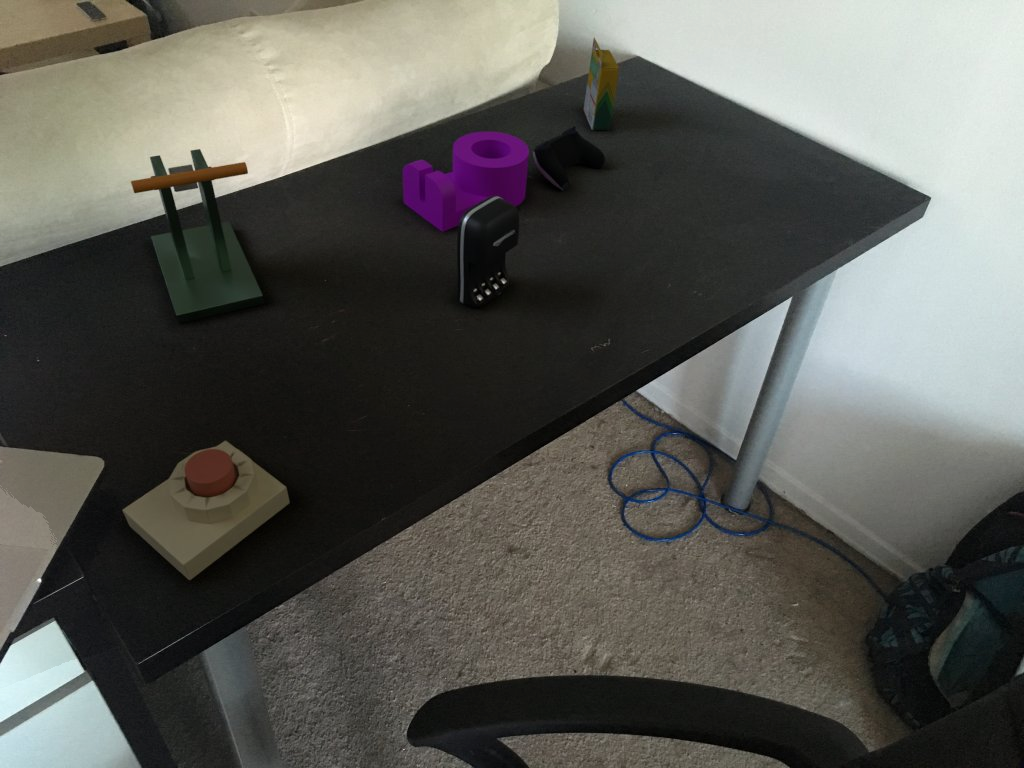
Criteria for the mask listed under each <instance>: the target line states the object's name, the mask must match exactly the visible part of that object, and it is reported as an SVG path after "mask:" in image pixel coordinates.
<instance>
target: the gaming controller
mask: <svg viewBox="0 0 1024 768" xmlns="http://www.w3.org/2000/svg"><path fill="white" fill-rule="evenodd" d="M532 157H533V160H534V164H535V166H536V167H537V169H538V171H539V172H540V173H541V174H542V175H543V177H544V178H545V179H547V181H549V182H550V183H551V184H552V185H553V186H555V187H557V188H558V189H559V190H561V191H564V190H567V189H568V188H569V187H570V180H569V177H568V174H567V172H566V169H567V168H569V167H570V166H573V165H575V164H576V163H577V162H580V163H583V164H585V165H587V166H590V167H592V168H595V169H601V168H602V167H603V166H604V165H605V163H606V157H605V154H604V153H603V151H602V150H601V149H600V148H599V147H598V146H596V145H595V144H593V143H591V142H590V141H588V140H587V139H586V138H584V137H583V136H582V135H581V134H580V133H579V132H578V130H577V129H576V125H574V126H572V127H570V128H567V129H566V130H564V131H562V133H561V134H560V135H557V136H555V137H553V138H551V139H549V140H546V141H544V142H542V143H540V144H538V145H537V146H535V147H534V149H533V152H532Z"/></svg>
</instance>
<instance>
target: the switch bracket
mask: <svg viewBox="0 0 1024 768" xmlns="http://www.w3.org/2000/svg"><path fill="white" fill-rule="evenodd" d="M189 151H190V152H189V153H190V156H191V160H192V165H193V169H194V170H200V169H206V168H212V166H208V165H209V164H208V163H207V160H206V159H205V156H204V153H202V151H201V148H198V149H191V150H189ZM149 159H150V163H151V167H152V171H153V174H154V175H151V176H150V178H152V177H158V176H164V175H168V172H167V170H166V167H165V164H164V162H163V159H162V157H161V155H153V156H149ZM197 185H198V190H199V193H200V197H201V202H202V206H203V210H204V215H205V219H206V223H207V225H201V226H196V227H192V228H187V229H182V224H181V220H180V217H179V214H178V209H177V206H176V201H175V198H174V195H173V190H172V187H169V188H163V189H157V190H156V191H158V192H159V196H160V199H161V203H162V207H163V210H164V213H165V219H166V222H167V224H168V228H169V232H166V233H161V234H156V235H151V236H150V239H151V242H152V245H153V249H154V252H155V255H156V258H157V260H158V264H159V267H160V270H161V274H162V276H163V278H164V282H165V286H166V288H167V291H168V295H169V298H170V301H171V304H172V307H173V309H174V313H175V316H176V320H177V323H178V324H179V325H181V324H185V323H189V322H193V321H197V320H202V319H205V318H206V319H207V318H210V317H215V316H218V315H219V316H220V315H224V314H227V313H231V312H236V311H240V310H244V309H248V308H253V307H257V306H261V305H264V304H265V300H264V295H263V292H262V291H261V288H260V286H259V283H258V281H257V279H256V277H255V275H254V272H253V271H252V268H251V266H250V264H249V261H248V259H247V258H246V255H245V253H244V251H243V249H242V246H241V244H240V242H239V240H238V238H237V235H236V233H235V231H234V229H233V227H232V225H231V222H230V221H227V220H226V221H222V220H221V215H220V212H219V207H218V203H217V197H216V194H215V190H214V185H213V180H209V181H203V182H197Z"/></svg>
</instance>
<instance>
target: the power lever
mask: <svg viewBox="0 0 1024 768" xmlns="http://www.w3.org/2000/svg"><path fill="white" fill-rule="evenodd" d="M211 167H212V166H211ZM167 170H168V174H167V175H164V176H158V177H152V178H151V177H147V178H140V179H135V180H130V184H131V187H132V191H133V193H134V194H139V193H145V192H151V191H158V190H157V189H163V188H169V187H171V188H173V191H174V192H175V193H180V192H184V191H190V190H196V189H199V185H198V182H203V181H209V180H212V181H216V180H220V179H225V178H231V177H237V176H243V175H248V174H249V171H248V167H247V163H246V162H245V161H242V162H236V163H231V164H225V165H218V166H213V167H212V168H206V169H200V170H195V169H194V166H193V164H185V165H179V166H174V167H169V168H168V169H167Z"/></svg>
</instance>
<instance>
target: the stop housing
mask: <svg viewBox="0 0 1024 768" xmlns="http://www.w3.org/2000/svg"><path fill="white" fill-rule="evenodd" d="M208 449H218V450H222V451H224V452H226V453H227V454H229V456H230V457H231V459H232V463H233V466H234V470H235V473H236V479H235V482H234V484H233V485H232V487H231V488H230V489H229V490H227V491H226V492H224V493H222V494H220V495H217V496H213V497H202V496H199V495H197V494H195V493H194V492H193V491H192V490H191V489H190V486H189V483H188V480H187V477H186V475H185V466H186V463H187V462H188V460H189V459H190V458H191V457H192V456H194V455H195V454H197V453H199V452H201V451H204V450H208ZM290 502H291V501H290V497H289V493H288V488H287V486H286V485H284V484H283V483H282V482H281V481H279V480H278V479H277V478H275V477H274V476H273V475H271V473H269V472H267V470H265V469H264V468H262V467H261V466H260V465H259V464H258V463H256V462H255V461H253V460H252V459H251V458H250V457H249V456H248V455H246V454H245V453H244V452H243V451H242V450H240V449H238V448H236V447H235V446H234V445H232V444H231V443H230V442H229V441H227V440H224V441H222V442H221V443H220V444H218V445H216V446H213V447H208V448H204V449H200V450H196V451H194V452H192V453H191V454H189V455H188V456H187V457H185V458H184V459H182V460H181V461H179V462H178V463H177V464H176V466H175V468H174V469H173V471H172V473H171V474H170V476H169V478H168V479H166V480H164V481H163V482H162V483H160V484H159V485H157V486H156V487H154V488H153V489H151V490H150V491H148V492H147V493H145V494H144V495H143V496H141V497H139V498H138V499H136V500H135V501H133V502H132V503H130V504H129V505H127V506H126V507H125V508H123V509H122V513H123V515H124V518H125V519H126V521H127V524H128V526H129V527H130V528H131V529H132V530H133V531H134V532H135V533H136V534H137V535H138V536H140V537H141V538H142V539H143V540H144V541H145V542H146V543H147V544H148V545H150V546H151V547H152V548H153V549H154V550H155V551H156V552H157V553H158V554H160V556H161V557H163V558H164V559H165V560H166V561H167V562H168V563H169V564H171V565H172V567H174V568H175V569H176V570H177V571H178V572H179V573H181V575H183V576H184V577H185V578H186V579H187V580H188V581H191V580H192V579H194V578H195V577H197V576H198V575H199V574H200V573H201V572H203V571H204V570H205V569H207V568H208V567H209V566H211V565H212V564H213V563H214V562H216V561H217V560H219V559H220V558H221V557H222V556H224V555H225V554H226V553H227V552H228V551H230V550H232V549H233V548H234V547H235V546H237V545H238V544H239V543H240V542H242V541H243V540H244V539H245V538H246V537H248V536H249V535H250V534H252V533H253V532H255V531H256V530H257V529H258V528H260V527H261V526H262V525H263V524H265V523H266V522H268V520H270V519H271V518H272V517H274V516H275V515H276V514H278V513H280V511H282V510H283V509H284V508H286V506H288V505H289V504H290Z"/></svg>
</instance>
